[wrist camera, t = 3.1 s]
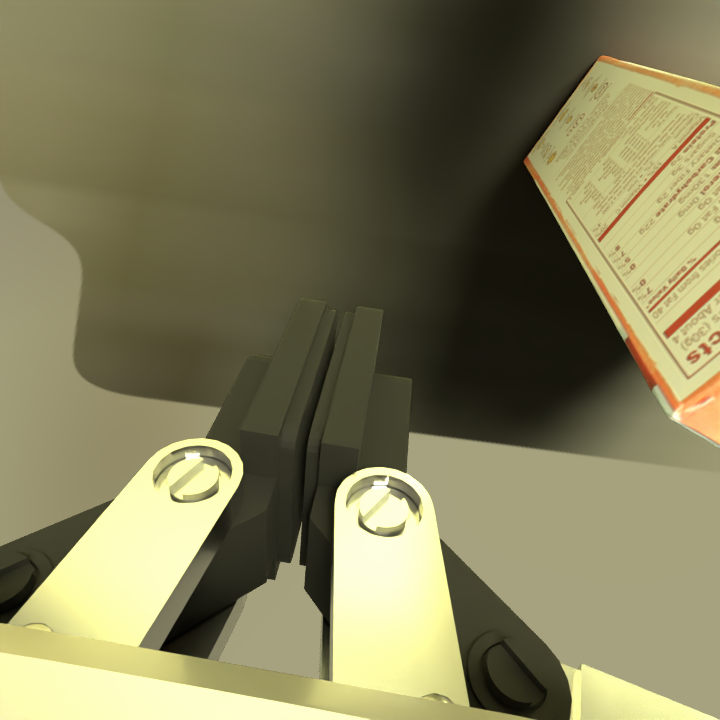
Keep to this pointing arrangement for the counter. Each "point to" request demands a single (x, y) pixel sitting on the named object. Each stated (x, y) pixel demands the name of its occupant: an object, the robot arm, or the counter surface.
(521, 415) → the counter surface
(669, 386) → the cracker box
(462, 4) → the counter surface
